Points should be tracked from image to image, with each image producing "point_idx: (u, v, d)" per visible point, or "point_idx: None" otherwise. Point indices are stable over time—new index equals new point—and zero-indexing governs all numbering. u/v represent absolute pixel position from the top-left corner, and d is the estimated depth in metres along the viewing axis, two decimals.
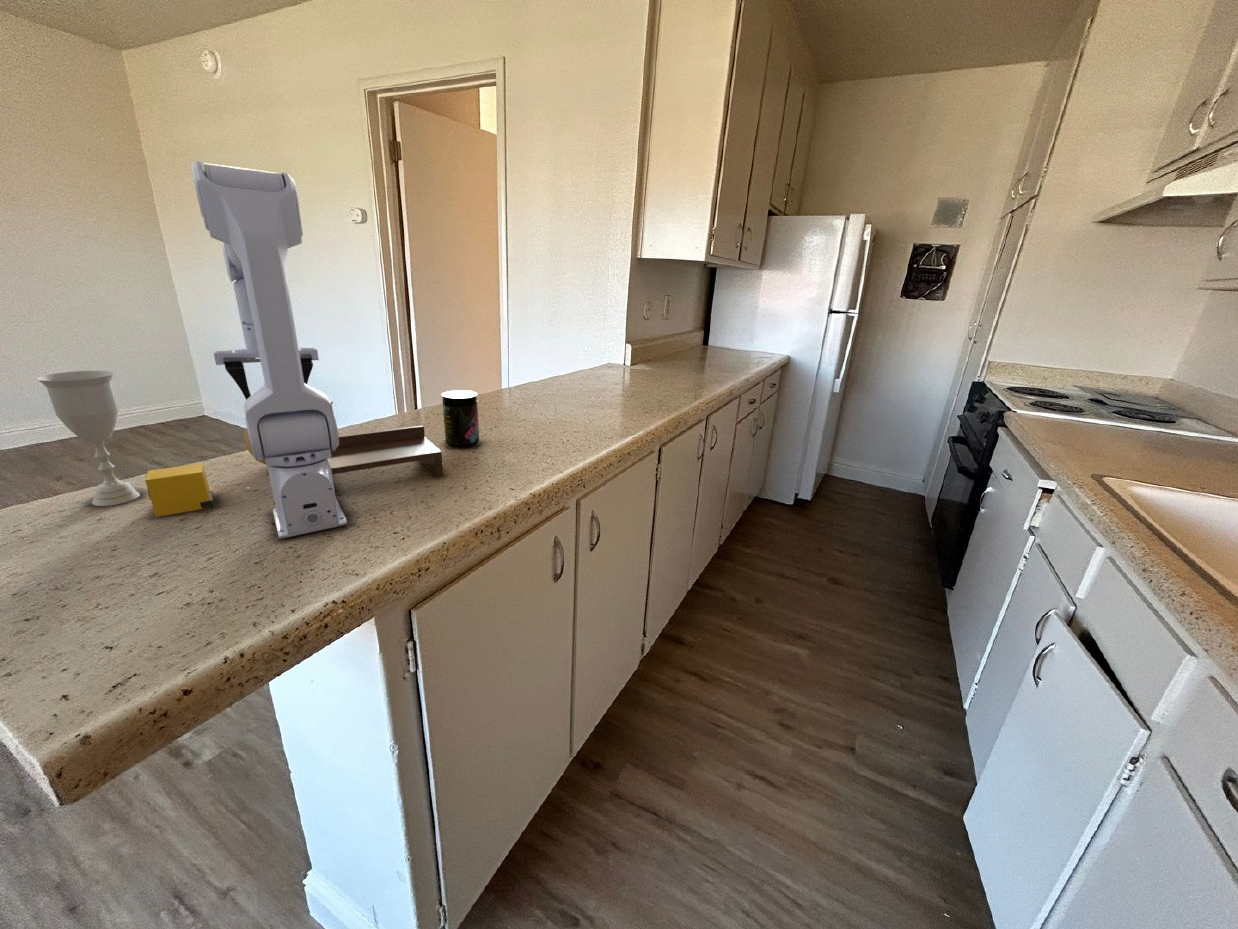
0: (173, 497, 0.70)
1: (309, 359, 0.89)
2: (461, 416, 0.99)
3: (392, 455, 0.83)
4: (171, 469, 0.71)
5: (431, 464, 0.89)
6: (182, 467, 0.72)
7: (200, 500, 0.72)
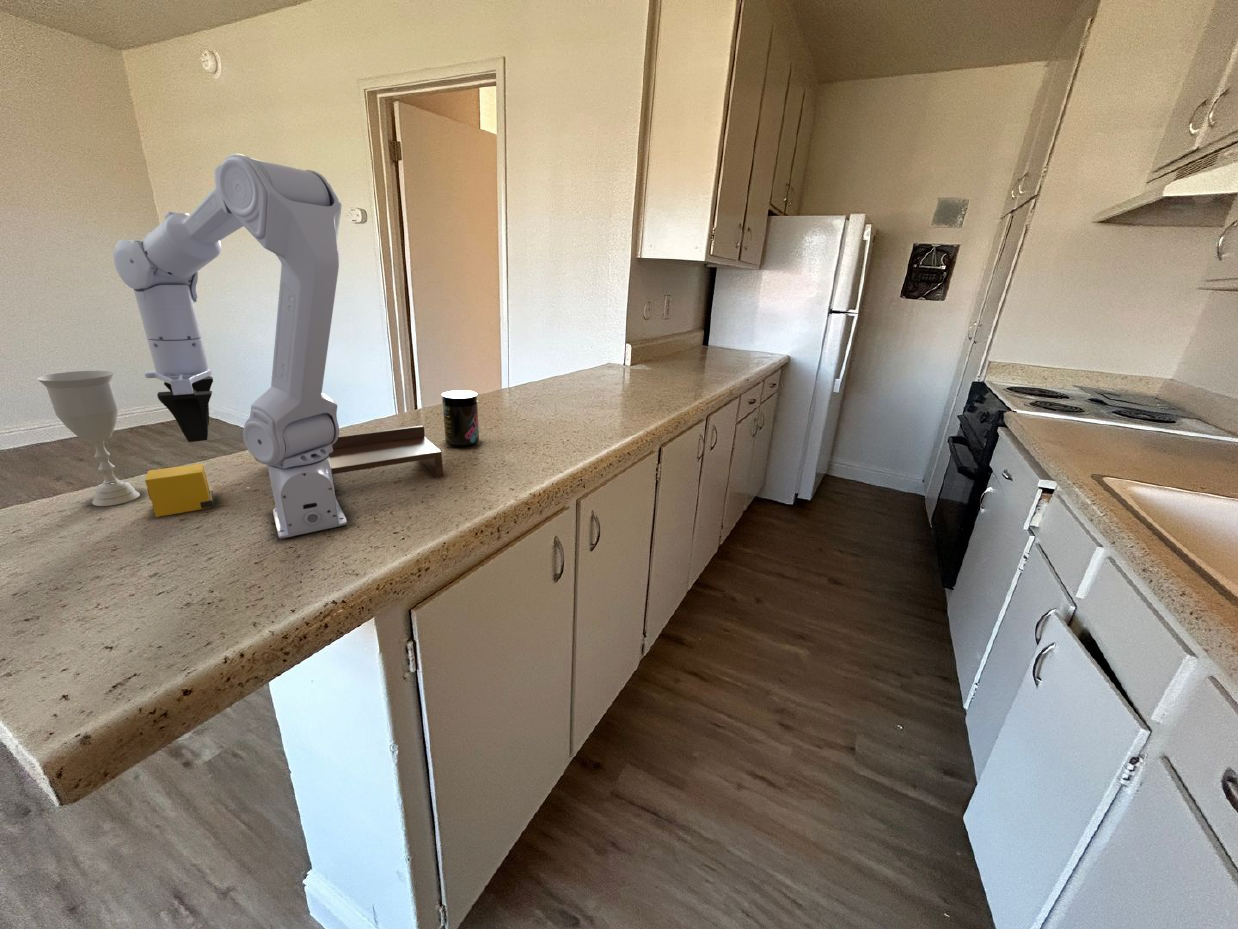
0: (173, 497, 0.70)
1: None
2: (461, 416, 0.99)
3: (392, 455, 0.83)
4: (171, 469, 0.71)
5: (431, 464, 0.89)
6: (182, 467, 0.72)
7: (200, 500, 0.72)
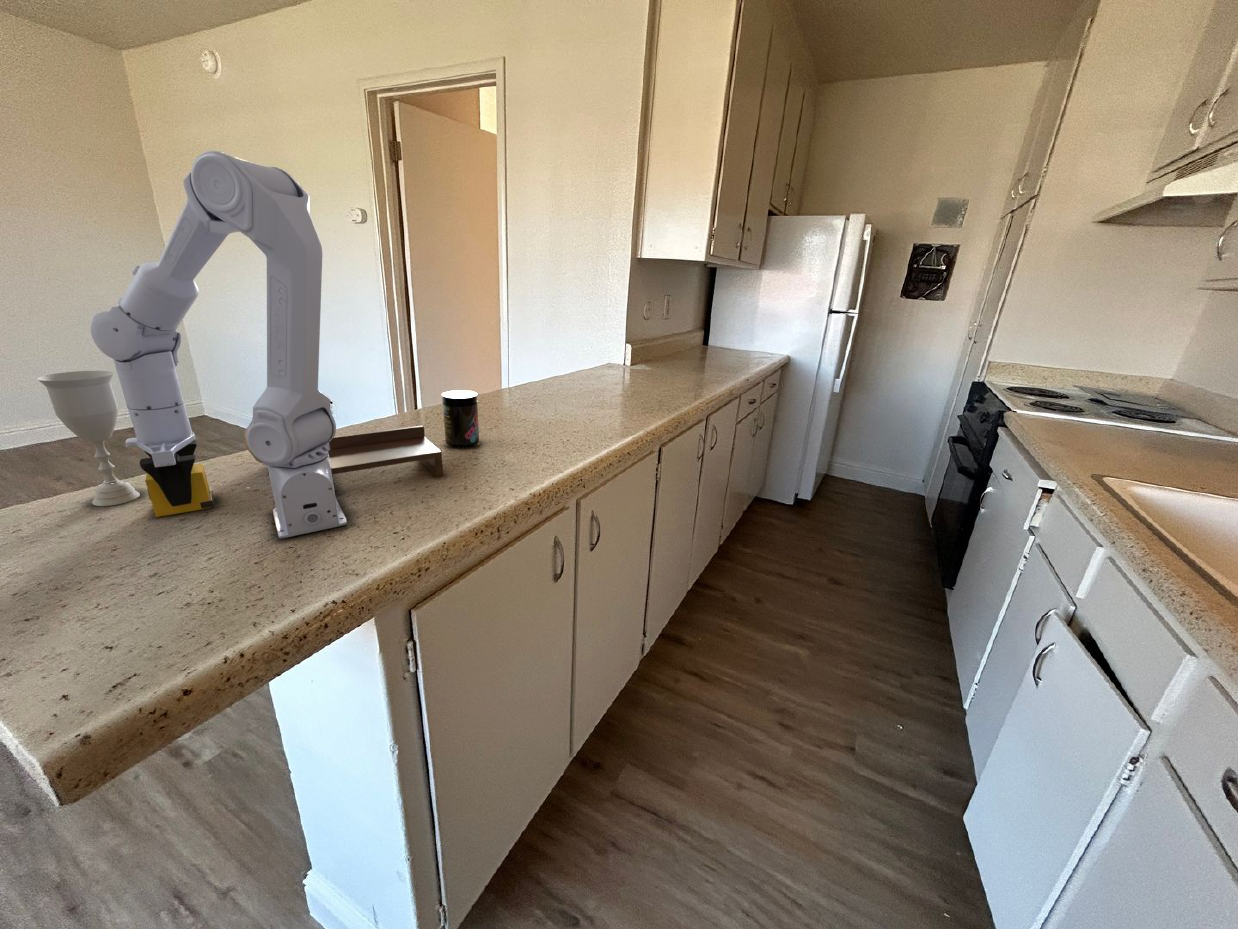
0: None
1: None
2: (461, 416, 0.99)
3: (392, 455, 0.83)
4: None
5: (431, 464, 0.89)
6: None
7: (200, 500, 0.72)
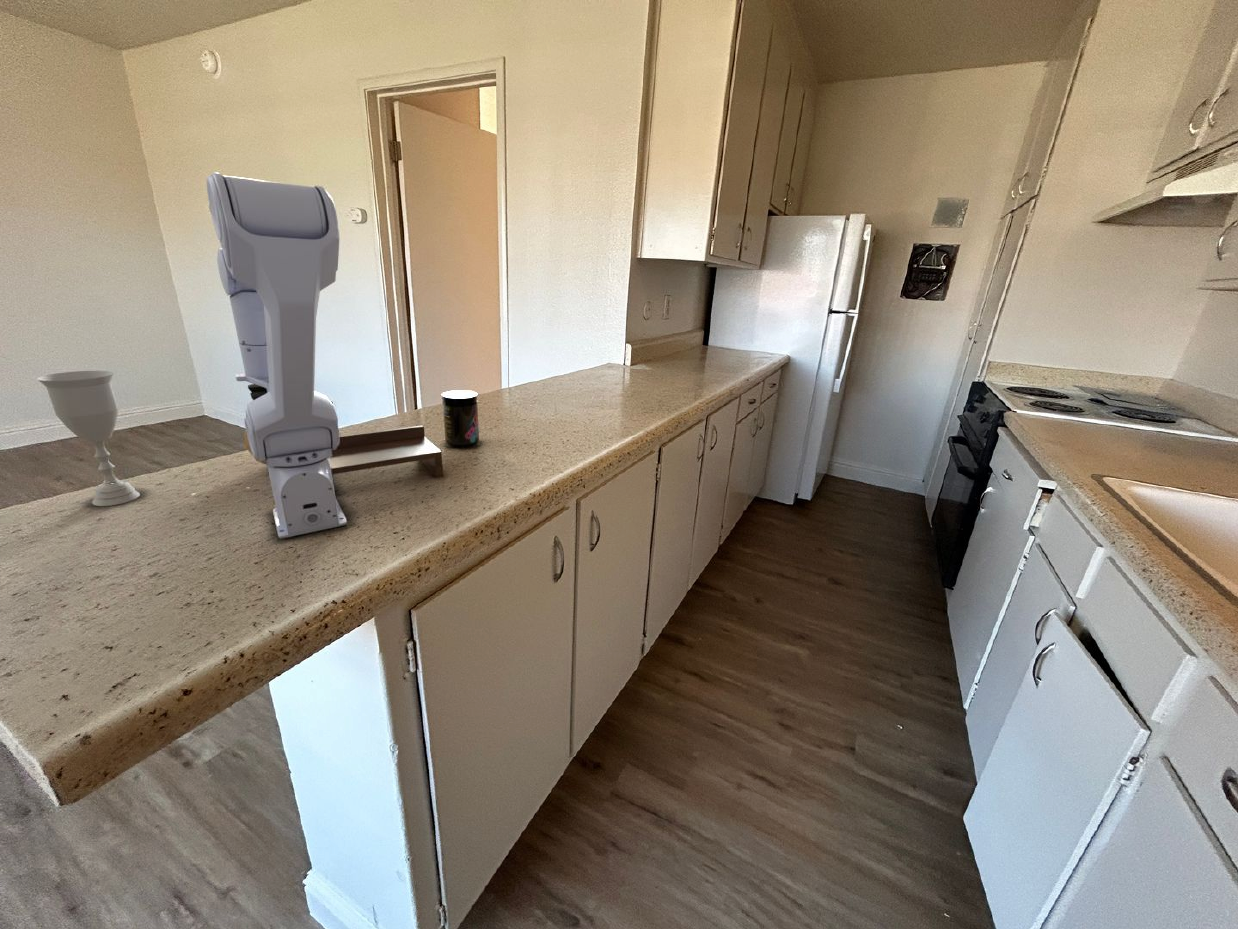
0: None
1: None
2: (461, 416, 0.99)
3: (392, 455, 0.83)
4: None
5: (431, 464, 0.89)
6: None
7: None
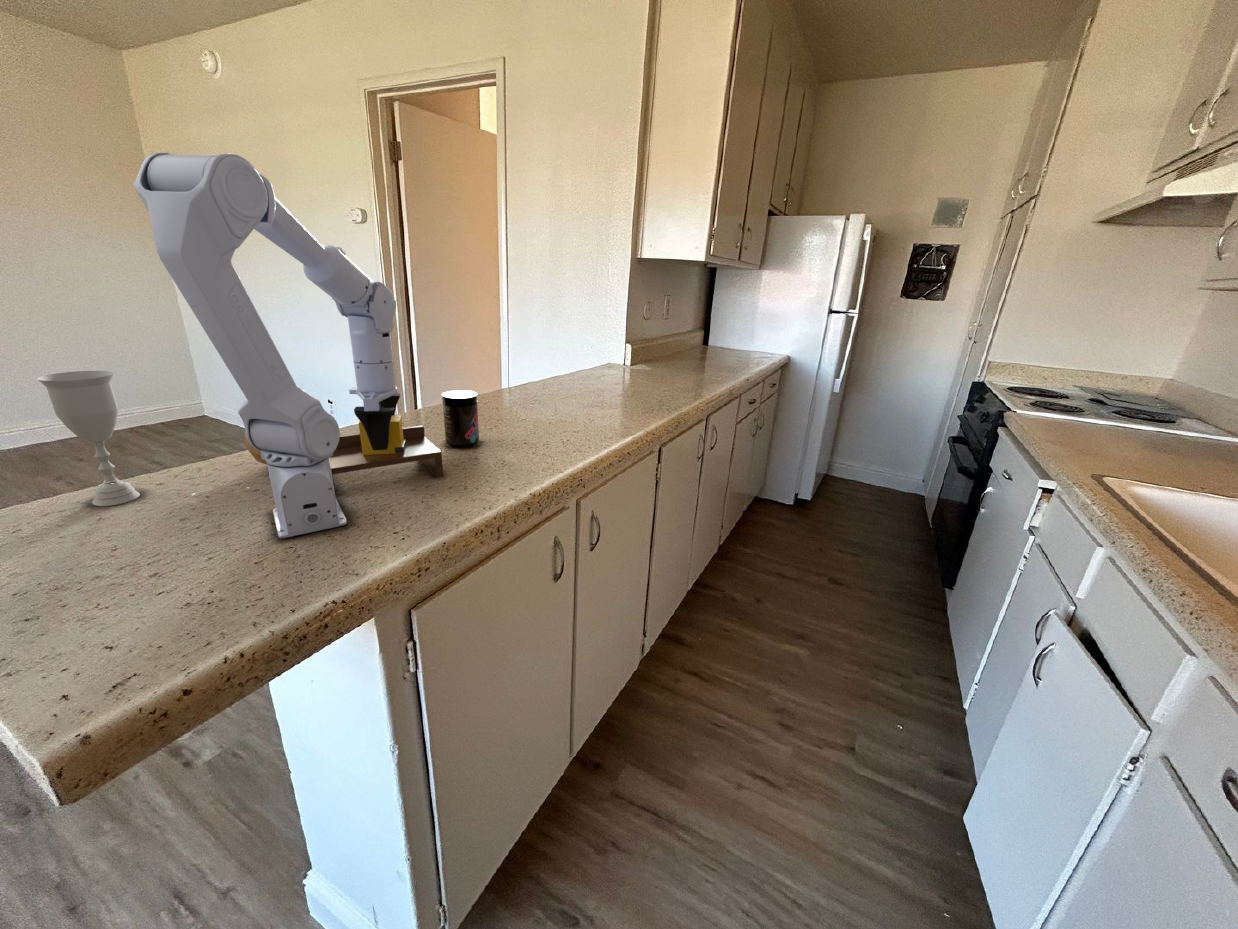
0: None
1: None
2: (461, 416, 0.99)
3: (392, 455, 0.83)
4: None
5: (431, 464, 0.89)
6: None
7: (395, 445, 0.84)
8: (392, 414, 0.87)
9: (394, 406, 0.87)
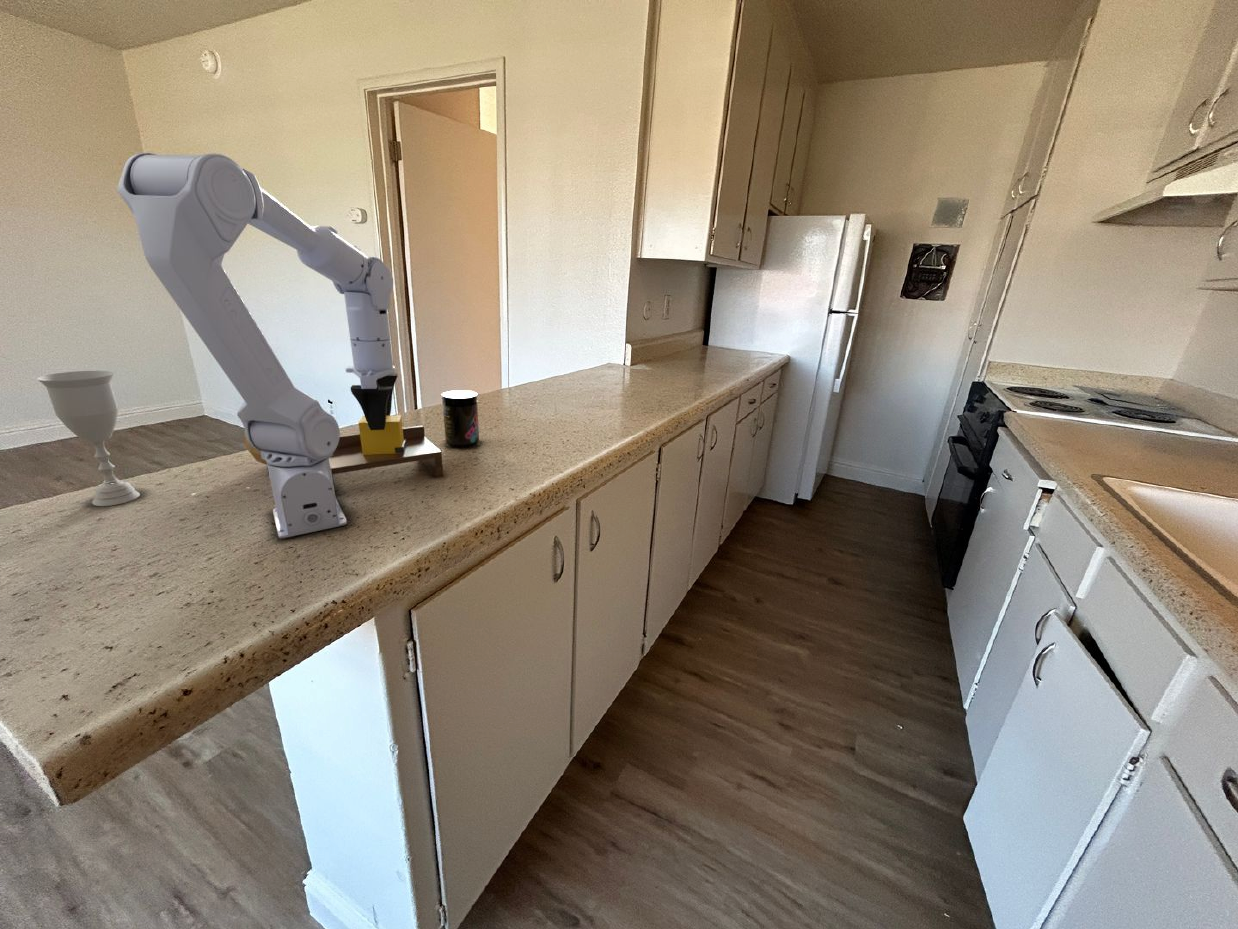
0: (376, 440, 0.83)
1: None
2: (461, 416, 0.99)
3: (392, 455, 0.83)
4: None
5: (431, 464, 0.89)
6: (386, 416, 0.85)
7: (395, 445, 0.84)
8: (389, 394, 0.86)
9: (392, 386, 0.86)
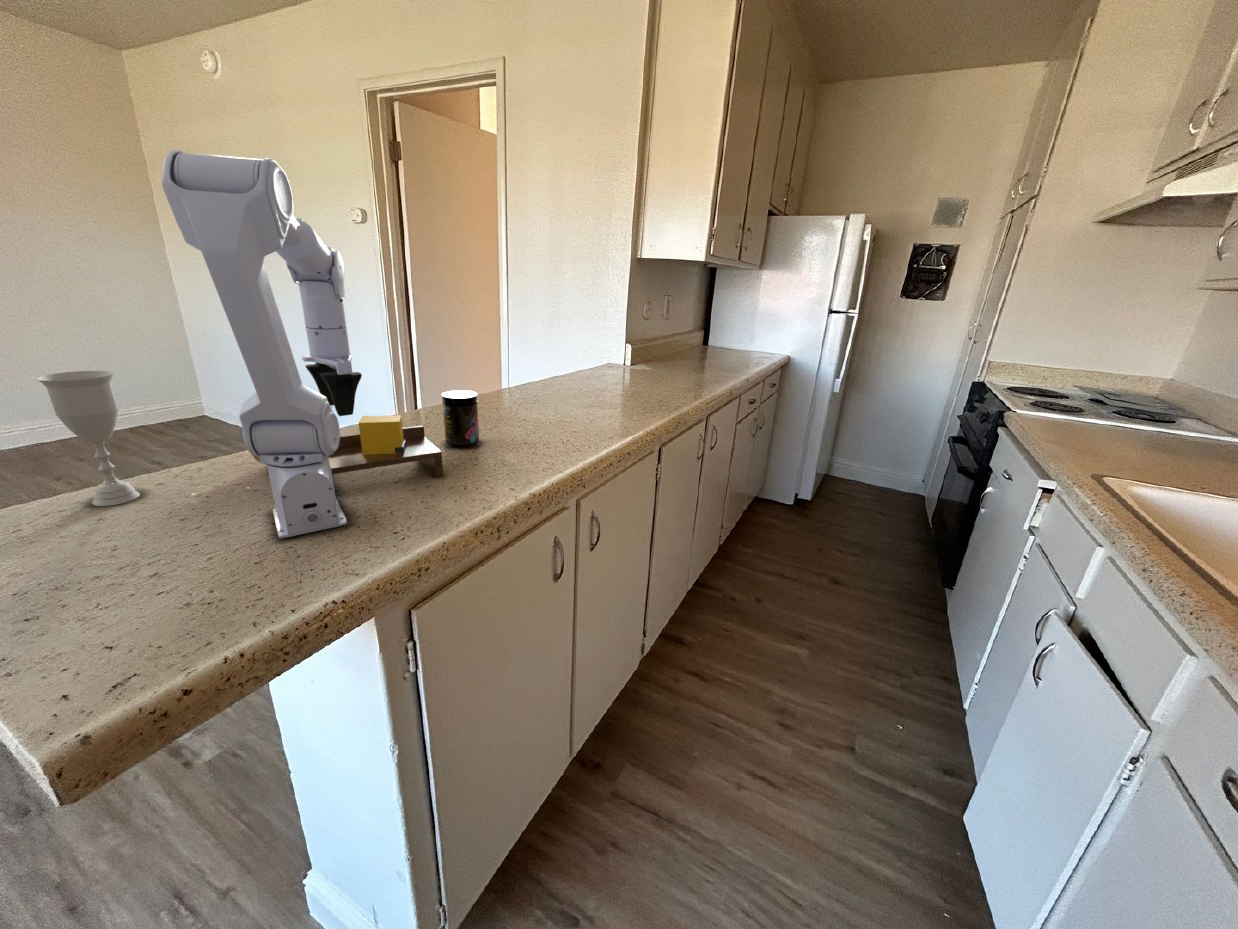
0: (376, 440, 0.83)
1: None
2: (461, 416, 0.99)
3: (392, 455, 0.83)
4: (378, 417, 0.85)
5: (431, 464, 0.89)
6: (386, 416, 0.85)
7: (395, 445, 0.84)
8: None
9: None
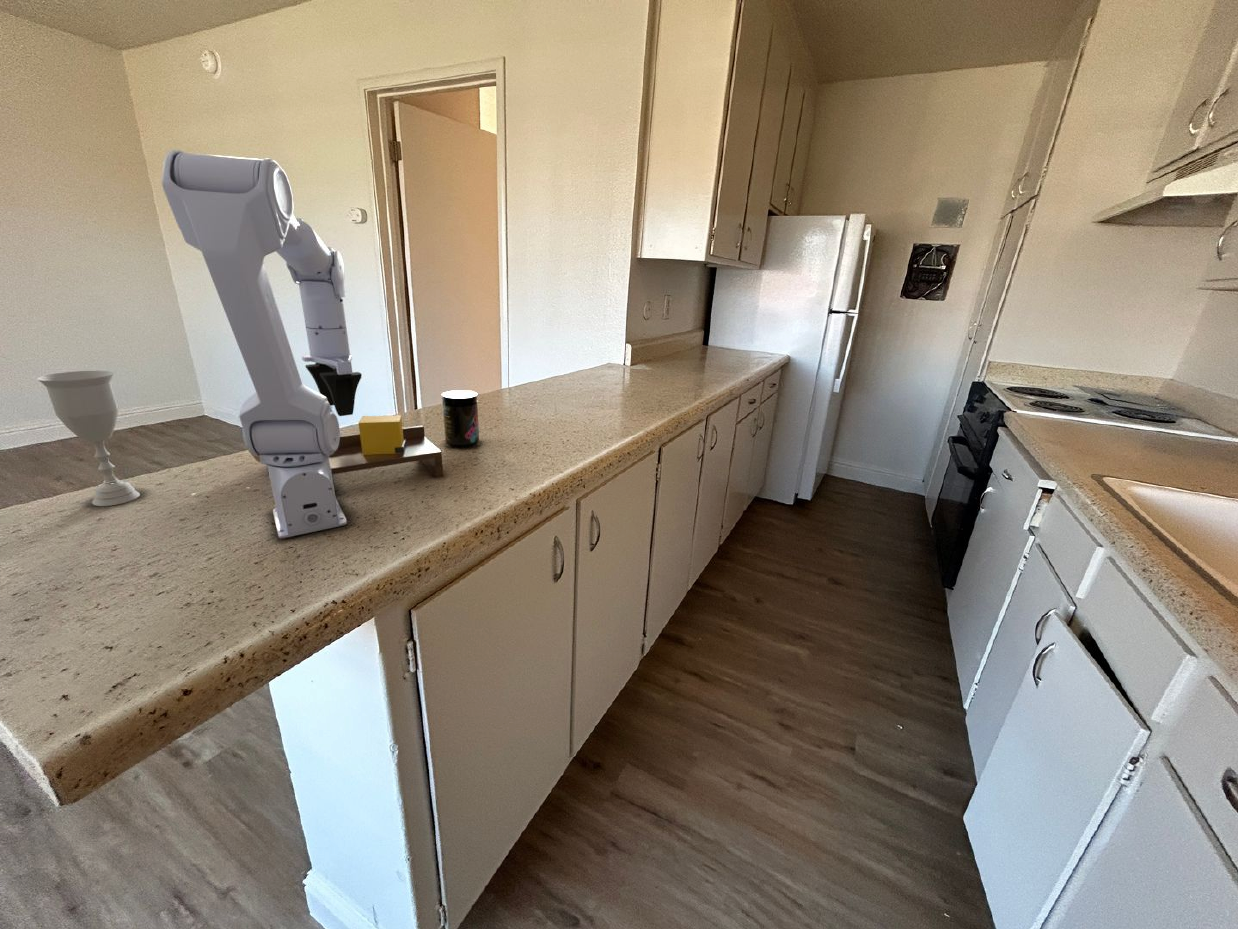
0: (376, 440, 0.83)
1: None
2: (461, 416, 0.99)
3: (392, 455, 0.83)
4: (378, 417, 0.85)
5: (431, 464, 0.89)
6: (386, 416, 0.85)
7: (395, 445, 0.84)
8: None
9: None
